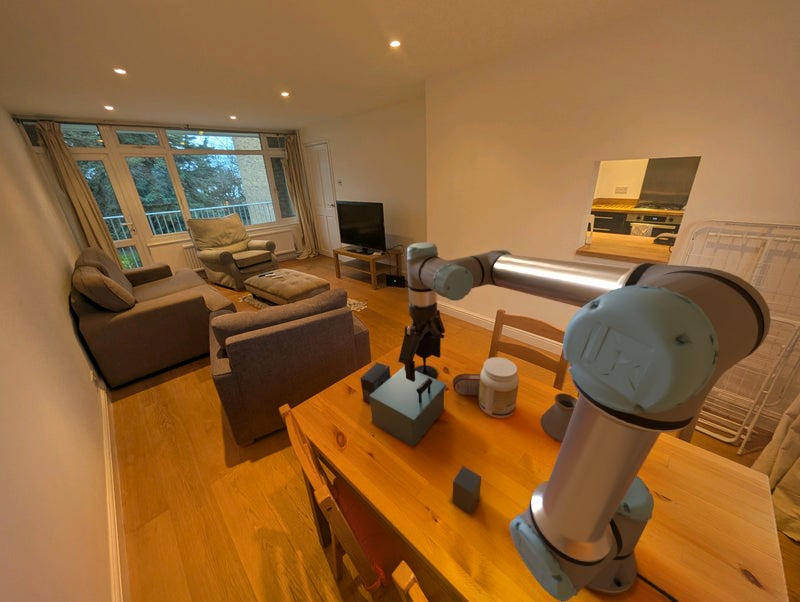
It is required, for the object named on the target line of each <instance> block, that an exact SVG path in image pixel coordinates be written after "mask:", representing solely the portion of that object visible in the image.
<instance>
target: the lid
mask: <svg viewBox="0 0 800 602" xmlns="http://www.w3.org/2000/svg"><path fill="white" fill-rule="evenodd" d="M446 387H447V383H445V382H443V381H441V380H438V379H437V378H435V379H434V378H431V377H429V376H427V375H424V374H422V373H420V372H417V371H415V381H414V382H412V381H410V380H408V379H406V371H405V365H403V366H402V367H401V368H400V369H399V370H398V371H396V372H395V373H394V374H393V375H391V378H390V379H388V380H387V381H386V382H385V383H384V384H382V385H381V386H380V387H379V388H378V389H377V390H375V391H374V392H373V393H372V394H371V395H369V397H370V398H371V399H373V400H375V401H377V402H379V403H380V404H382V405H384V406H386V407H388V408H390V409H391V410H393V411H395V412H397V413H399V414H400V415H402V416H404V417H406V418H408V419H410V420H411V421H413V422H414V421H415V420H416V419H417V418H418V417H419V416H420V415H421V414H422V412H423V411H424V410H425V409H426V408H427V407H428V406H429V405H430V404H431V402H432V401H433V400H434V399H435V398H436V397H437V396H438V395H439V393H440V392H441V391H442V390H443V389H444V390H445V388H446Z"/></svg>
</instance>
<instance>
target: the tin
mask: <svg viewBox="0 0 800 602" xmlns="http://www.w3.org/2000/svg"><path fill="white" fill-rule="evenodd" d="M479 386H480V373H460V374H457V375H455V377H454V378H453V379H452V388H453V391H454V392H455V393H457V394H458V395H460V396H472V397H473V396H475V397H479Z"/></svg>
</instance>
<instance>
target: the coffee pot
mask: <svg viewBox="0 0 800 602" xmlns="http://www.w3.org/2000/svg"><path fill="white" fill-rule="evenodd" d="M553 398H554V404H552V406H550V407H549V408H548V409H547V410H546V411H545V412H544V413H543V414H542V415H541V417H540V419H539V420H540V421H539V422H540V423H539V424H540V426H541V428H542V430H543V432H544V433H545V434H546V436H548V437H549V438H550V439H552V440H553V441H555V442H558V443H560V444H562V442H563V439H564V436H565V433H566V431H567V428H568V425H569V422H570V419H571V417H572V414H573V411H574V408H575V405H576V402H577V400H578V398H576V397H575V396H573V395H571V394H570V393H566V392H560V393H559V392H558V393H557V394H555V395H554V397H553Z"/></svg>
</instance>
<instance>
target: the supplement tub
mask: <svg viewBox="0 0 800 602" xmlns="http://www.w3.org/2000/svg"><path fill="white" fill-rule="evenodd" d="M479 374H480V386H479V396H478V405H479V407H480V409H481V410H482V411H483V412H484V413H485V414H486V415H488V416H490V417H492V418H497V419H505V418H509V417H511V416H513V414H514V413H515V411H516V407H517V400H518V391H519V383H520V377H519V375H518V367H517V365H516V364H515V362H514V361H512V360H509V359H507V358H504V357H498V356H497V357H495V356H494V357H490V358H488V359H486V360H485V361H484V363H483V366H482V369H481V371H480V373H479Z"/></svg>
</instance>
